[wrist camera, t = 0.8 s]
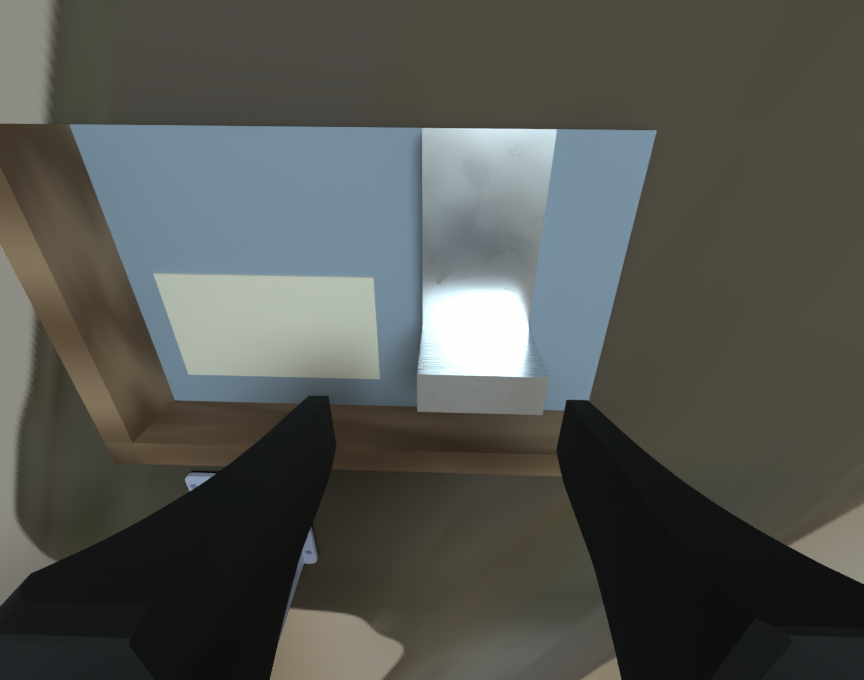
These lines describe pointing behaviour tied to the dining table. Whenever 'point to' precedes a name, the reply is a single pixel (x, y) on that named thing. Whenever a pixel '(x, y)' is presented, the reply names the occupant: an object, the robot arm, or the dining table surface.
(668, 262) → the dining table surface
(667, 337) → the dining table surface
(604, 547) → the robot arm
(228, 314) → the mat
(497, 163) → the bracket
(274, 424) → the walls
